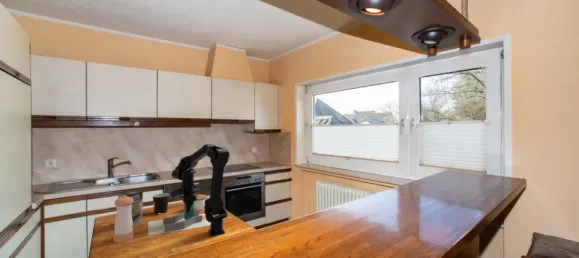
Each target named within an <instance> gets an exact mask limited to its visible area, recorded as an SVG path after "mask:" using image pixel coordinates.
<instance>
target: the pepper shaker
mask: <svg viewBox="0 0 579 258" xmlns="http://www.w3.org/2000/svg"><path fill="white" fill-rule="evenodd" d="M133 202H134V200H133V198H132V197H127V196H126V195H124V196H122V197H120V198H118V197H117V199H116V200H114V206H115V207H116V212H115V213H116V215H115V216H116V217H115V221H114V232H113V233H112V234H113V240H112V241H113V243H118V244H121V243H126V242H129V241H132V240H133V239H134V229H133V227H134V225H133V221H132V214H131V210H132V205H131V204H133Z"/></svg>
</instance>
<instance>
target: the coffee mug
mask: <svg viewBox="0 0 579 258" xmlns="http://www.w3.org/2000/svg"><path fill="white" fill-rule="evenodd" d="M169 199H170V194H169V193H157V194H153V195H152V203H153V211H154V214H155V213H156V214H155V215H159V214H158V213H164V214H166V213H167V212H168V208H169V207H168V206H169V201H170V200H169ZM165 212H166V213H165Z"/></svg>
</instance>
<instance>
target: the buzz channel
mask: <svg viewBox="0 0 579 258" xmlns="http://www.w3.org/2000/svg"><path fill="white" fill-rule="evenodd" d="M207 227H210V222H208V221H206V216H205V213H201V214H200V211H199V210H194V216H193V217H192V218H190V219H188V220H185V219H184V211H183V212H180V213H178V214H176V215H173V216H170V217H164V218H163V219H158V220H151V221H148V227H147V228H148V231H147V232H148V233H147V235H148V236H154V235H160V234H165V233H166V234H167V233H172V232H178V231H184V230H190V229H196V228H207Z"/></svg>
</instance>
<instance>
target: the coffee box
mask: <svg viewBox="0 0 579 258" xmlns="http://www.w3.org/2000/svg"><path fill="white" fill-rule="evenodd" d="M124 195H126V196H127V197H132V198H133V200H134V202H133V204H131V205H132V210H131V214H132V221H133V226H134V225H137V224H140V223H142V222H143V207H144V205H143V203H144V202H143V201H144V200H143V198H144V191H141V190H131V191H127V192H123V193H118V194H117V196H118V197H117V199H118V198H120V197H122V196H124Z"/></svg>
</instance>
